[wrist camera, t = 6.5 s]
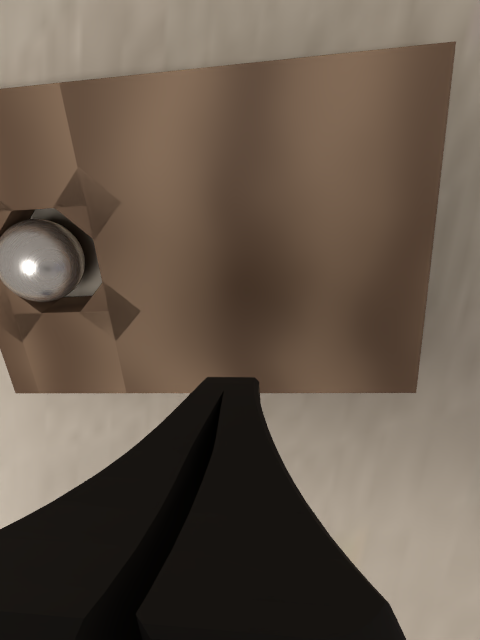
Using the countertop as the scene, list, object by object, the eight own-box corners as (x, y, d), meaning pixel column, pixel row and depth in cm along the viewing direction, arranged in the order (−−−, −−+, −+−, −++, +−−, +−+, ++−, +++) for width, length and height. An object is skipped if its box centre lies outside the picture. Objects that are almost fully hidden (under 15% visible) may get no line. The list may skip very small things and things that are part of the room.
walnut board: (435, 52, 15) (455, 41, 13) (404, 369, 20) (416, 392, 18) (-51, 102, 17) (-91, 98, 15) (34, 372, 22) (11, 393, 21)
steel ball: (-13, 232, 15) (-21, 220, 18) (13, 321, 16) (2, 297, 19) (86, 219, 17) (65, 209, 19) (101, 300, 18) (80, 281, 21)
